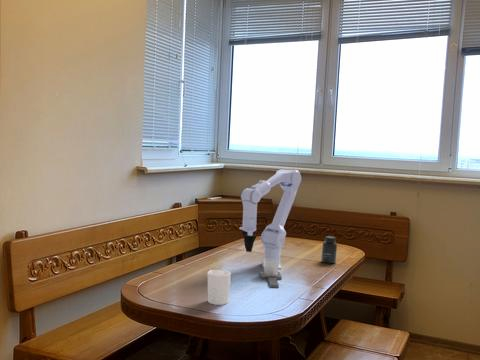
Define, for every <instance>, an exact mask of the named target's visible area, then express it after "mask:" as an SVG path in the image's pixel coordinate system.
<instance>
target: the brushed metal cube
mask: <svg viewBox="0 0 480 360" xmlns="http://www.w3.org/2000/svg"><path fill="white" fill-rule="evenodd" d="M263 262H264V268H263V271H264V275H265V276H278V272H279V269H278V259H277V258H264V257H263Z"/></svg>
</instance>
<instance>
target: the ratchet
mask: <svg viewBox="0 0 480 360" xmlns="http://www.w3.org/2000/svg"><path fill="white" fill-rule="evenodd" d="M259 275H260V279H261V280H267V282H268V284H269V287H270V288H279V287H280V286H279V285H280V284H279V282H278V281H282V280H283V279H282V275H281V273H280V271H278V276H265V275H264V270H263V271H261V270H260V273H259Z"/></svg>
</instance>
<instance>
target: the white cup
mask: <svg viewBox="0 0 480 360" xmlns="http://www.w3.org/2000/svg"><path fill="white" fill-rule="evenodd" d="M231 278H232V273H231V271H229V270H224V269H211V270H209V271H207V302H208V303H209V304H210V305H215V306H224V305H227V304H228V303H229V296H230V289H231Z"/></svg>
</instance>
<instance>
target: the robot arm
mask: <svg viewBox="0 0 480 360" xmlns="http://www.w3.org/2000/svg"><path fill="white" fill-rule="evenodd" d="M301 183H302V176H301V173H300V171H299V170H297V169H293V170H292V169H283V168H281V169H278V170H276V172H275V174H274V175H272V176H271V177H269V178H268V179H267V180H262V179H260V180H259V181H258V182H257V183H256V184H254V185H253V184H252V185H251V187H250V188H249V187H248V188H247V187H246V188H245V189H243V190H242V192H241V195H240V199H241V201H242V209H243V210H242V226H240V227H239V230H241V234H242V237H243V241H244V242H243V243H244V248H245V251H246V253H252V251H253V248H254V247H253V246H254V243H255V241H256V239H257V238H258V237H257V235H256V234H255V233H256V231H257V230H258V229H257V220H258V219H257V217H258V216H257V215H258V203H259V202H260V200H261V199H262V197H264V196H265V195H267V194H268V193H270V192H271V189H272V188H274V187H275V186H277V185H278V184H279V186H280V188H281V189H282V190H283V194H282V196H281V199H280V202H279V204H278V206H277V209H276V211H275V214H274V216H273V219H272V223H270V224H268V225H266V226H265V229H263V231H262V233H261V235H260V241H261V244H262V245H263V247H264V249H263V259H264V258H277V259H278V270H279V269H282V265H281V248H283V246H284V244H285V242H286V237H287V236H286V235H287V232H286V230H285V227H284V226H285V225H286V221H287V219H288V217H289V214H290V212H291V209H292V207H293V204H294V201H295V199H296V195H297V193H298V189H299V187H300V184H301ZM261 265H262V268H263V269H264V261H261Z"/></svg>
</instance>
